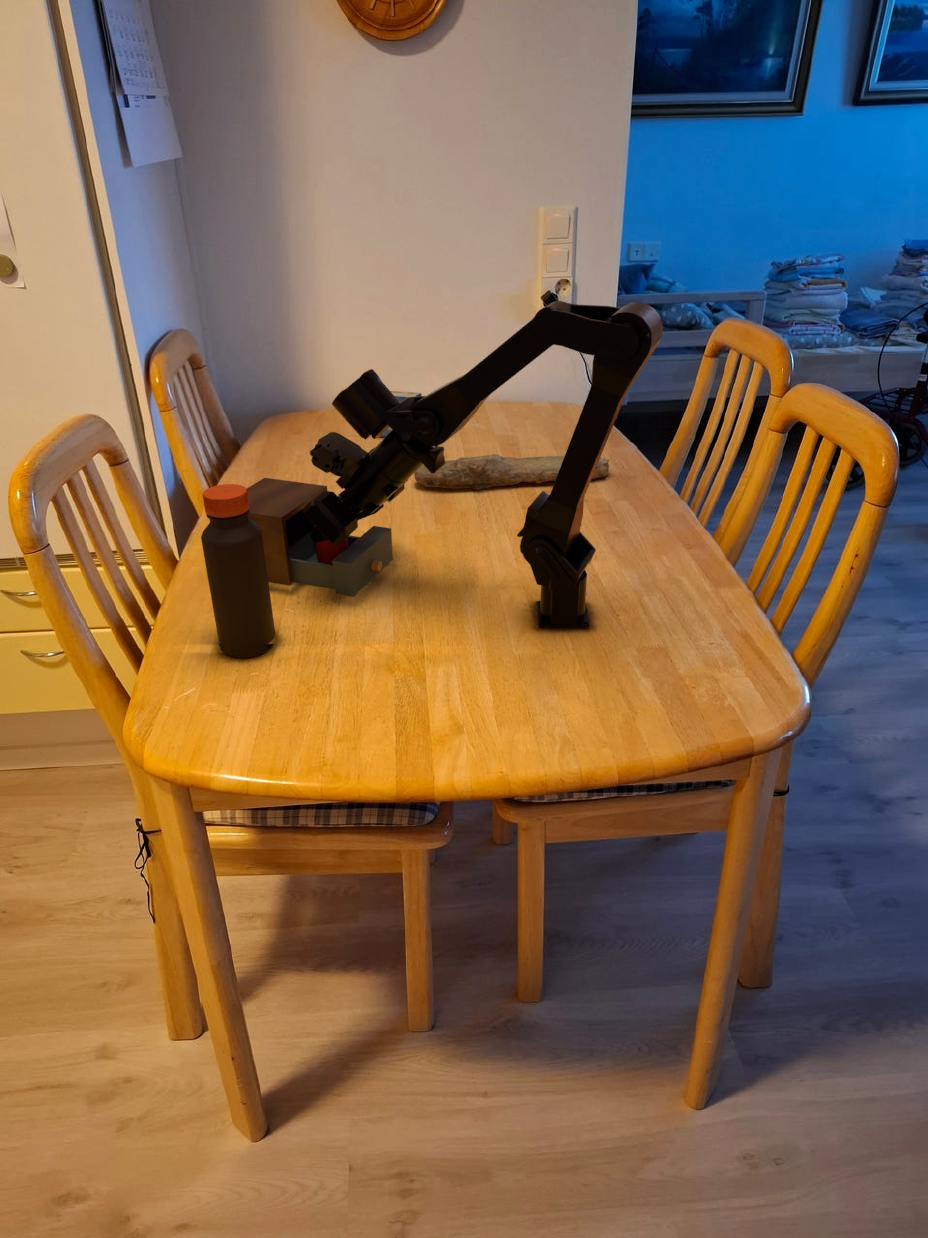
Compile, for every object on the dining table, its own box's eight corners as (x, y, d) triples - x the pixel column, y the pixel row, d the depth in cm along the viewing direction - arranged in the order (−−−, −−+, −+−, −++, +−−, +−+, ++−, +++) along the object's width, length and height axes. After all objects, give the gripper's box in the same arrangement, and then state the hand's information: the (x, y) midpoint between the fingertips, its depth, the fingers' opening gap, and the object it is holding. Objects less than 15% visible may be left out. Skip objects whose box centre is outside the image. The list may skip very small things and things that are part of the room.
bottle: (252, 625, 114) (230, 476, 104) (287, 642, 110) (268, 489, 101) (208, 647, 110) (181, 493, 100) (243, 665, 106) (218, 507, 96)
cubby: (333, 557, 132) (327, 485, 126) (290, 593, 122) (281, 517, 116) (273, 547, 135) (264, 477, 130) (226, 581, 125) (215, 507, 120)
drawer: (399, 565, 128) (397, 529, 125) (360, 603, 118) (357, 564, 116) (318, 552, 132) (315, 517, 130) (274, 587, 123) (269, 550, 120)
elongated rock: (615, 490, 157) (599, 474, 166) (618, 461, 155) (602, 446, 164) (417, 493, 152) (411, 476, 161) (417, 463, 150) (411, 447, 158)
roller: (347, 576, 123) (342, 519, 119) (316, 576, 123) (309, 519, 119) (352, 562, 127) (347, 506, 123) (321, 562, 127) (315, 507, 123)
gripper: (379, 397, 121) (315, 467, 130) (309, 438, 105) (242, 513, 114) (435, 459, 122) (367, 524, 131) (374, 508, 107) (303, 578, 116)
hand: (322, 532), depth 123 cm, fingers closed on roller, 4 cm apart
